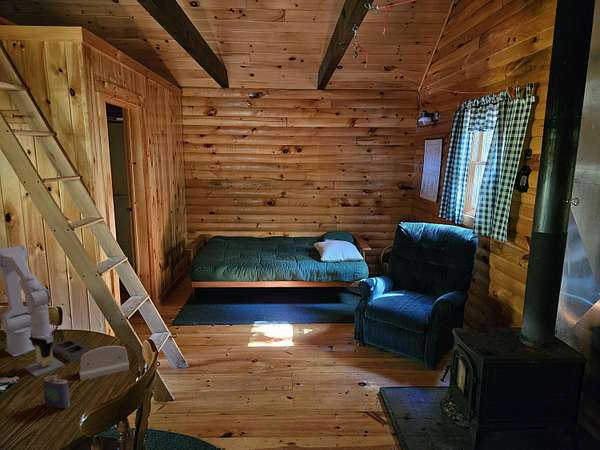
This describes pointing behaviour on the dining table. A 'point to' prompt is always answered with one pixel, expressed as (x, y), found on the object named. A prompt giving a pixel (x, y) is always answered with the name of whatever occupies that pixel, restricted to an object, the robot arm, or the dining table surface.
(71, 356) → the double cubby frame
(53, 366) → the mat
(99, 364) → the grey rounded block
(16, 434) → the dining table surface
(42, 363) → the tan rectangular block
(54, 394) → the flask
